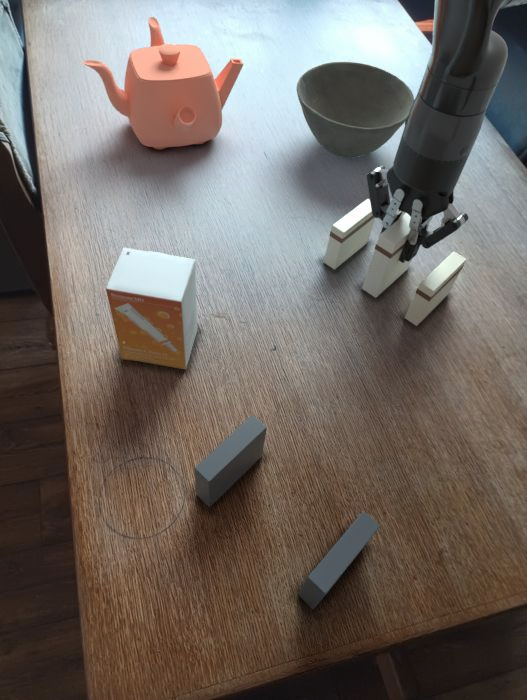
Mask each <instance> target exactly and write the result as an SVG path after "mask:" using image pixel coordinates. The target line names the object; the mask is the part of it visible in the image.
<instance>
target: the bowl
mask: <svg viewBox="0 0 527 700" xmlns="http://www.w3.org/2000/svg"><path fill="white" fill-rule="evenodd" d="M296 95H297V98H298V102H299V105H300V107H301V111H302V114H303V117H304V119H305V122H306V124H307V126H308V128H309V130H310V131H311V133H312V135H313V136H314V138H315V140H316V142H318V143H319V145H321V146H322V147H323V148H324V149H325V150H327V152H329V153H331V154H332V155H335V156H338V157H341V158H344V159H345V158H346V159H355V158H359V157H363V156H367V155H369V154H371V153H373V152H375V151H377V150H379V149H380V148H381V147H383V146H384V145H385V144H386V143H388V141H390V139H391V138H392V137H393V136H394V135H395V134H396V132H398V130H400V128H401V127H402V126H403V125H405V121H406V119H407V117H408V115H409V112H410V109H411V106H412V104H413V102H414V100H415V96H414V94H413V91H412V90H411V88H410V86H408V85H407V84H406V83H405V82H404V81H403V80H401V79H400V78H399V77H398V76H397V75H394V74H393V73H391V72H389V71H387V70H384V69H383V68H380V67H377V66H373V65H370V64H365V63H362V62H360V63H359V62H353V61H332V62H331V61H330V62H325V63H323V64H319V65H317V66H313V67H312V68H310V69H308V70H307V71H306V72H304V73H303V74H302V75H301V76H300V77H299V79H298V81H297V83H296Z"/></svg>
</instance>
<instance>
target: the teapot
mask: <svg viewBox="0 0 527 700" xmlns="http://www.w3.org/2000/svg"><path fill="white" fill-rule="evenodd" d="M147 22H148V28H149V35H150V46H146V47H141V48H137V49H133V50H131V51H130V53H129V55H128V58H127V64H126V70H125V75H124V85H123V86H124V88H123V89H122V88H120V87H119V86H118V85H117V83H116V80H115V77H114V75H113V72H112V71H111V69H110V67H109V66H107V64H105V63H103V62H102V61H98V60H90V59H89V60H88V59H87V60H83V61H82V64H83V65H84V66H86V67H89V68H90V69H92V70H94V71H95V72H96V73H97V74H98V75H99V77H100V79H101V81H102V83H103V85H104V88H105V92H106V94H107V97H108V100H109V102H110V103H111V105H112V107H113V108H114V109H115V111H117V112H118V113H119V114H120V115H122V116H124V117H127V120H128V121H129V124H130V126H131V129H132V130H133V132H134V135H135V136H136V138H137V139H138V141H139V143H140V144H142V145H143V146H146V147H149V148H154V149H155V150H165V149H166V148H176V147H184V146H190V145H202V144H205V143H206V142H207V141H212V140H214V139H215V138H216V137H217V136H218V134H219V132H220V131H221V128H222V126H223V109H224V107H225V105H226V103H227V100H228V98H229V96H230V94H231V92H232V91H233V88H234V86H235V84H236V81H237V79H238V77H239V75H240V73H241V71H242V69H243V66H244V62H243V60H242V59H241V58H230V59H229V61H228V62H227V64H226V65H225V66H224V67H223V68H222V69H221V71H220V72H219V74H218V75H217V76H216V77H214V74H213V71H212V68H211V66H210V63H209V61H208V59H207V57H206V55H205V54H204V52H203V50H202V49H201V48H200V47H199V46H198V45H194V44H185V43H184V44H183V43H182V44H179V43H178V44H175V43H166V42H165V40H164V36H163V33H162V28H161V25H160V23H159V21H158V20H157V18H155V17H153V16H150V17H148V21H147Z"/></svg>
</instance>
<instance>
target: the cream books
mask: <svg viewBox="0 0 527 700" xmlns="http://www.w3.org/2000/svg"><path fill="white" fill-rule="evenodd" d="M375 220H376V218H375V217H374V216H373V214H372V209H371V203H370V198H366V199H365V200H364V201H362V202H361V203H360V204H359V205H357V206H355V207H354V208H353V209H352V210H350V211H348V213H346V214H345V215H344V216H342V217H341V218H340V219H339V220H336V222H335V223H333V224H332V225H331V229H330V232H329V238H328V242H327V246H326V251H325V254H324V259H323V263H324V264H325V265H327V266H328V267H330V268H331V269H332V270H336V269H337V268H338V267H340V266H341V265H342V264H343V263H345V262H346V261H347V260H348V259H350V258H351V257H352V256H353V255H354V254H356V253H357V252H358V251H360V250H361V249H362V248H363V247H364V246H365V245H367V244H368V243H369V239H370V236H371V233H372V231H373V230H372V229H373V227H374V224H375ZM466 262H467V258H465V257H464V256H462V255H460V254H459V253H457V252H456V251H452V252H451V253H450V254H449V255H448V256H447V257H446V258H445V259H444V260H442V261H441V262H440V263H439V264H438V265H437V266H436V267H435V268H434V269H433V270H432V271H431V272H430V273H429V274H428V275H427V276H426V277H425V278H424V279H422V280H421V281H420V282H419V284H418V286H417V288H416V290H415V294H414V296H413V298H412V300H411V302H410V304H409V307H408V309H407V311H406V314H405V315H404V317H403V318H404V319H406V320H407V321H408V322H410V323H411V324H412V325H414V326H416V327H418V326H419V325H420V324H421V323H422V322H423V321H424V320H425V318H427V317H428V315H430V314H431V313H432V311H433V310H435V309H436V307H438V305H439V304H441V302H442V301H443V300H444V299H445V298H446V297H447V296H448V295H449V293H450V291H451V289H452V288H453V286H454V284H455V282H456V280H457V279H458V277H459V275H460V273H461V271H462V270H463V268H464V266H465V264H466Z"/></svg>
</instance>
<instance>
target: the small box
mask: <svg viewBox="0 0 527 700" xmlns="http://www.w3.org/2000/svg"><path fill="white" fill-rule="evenodd" d="M119 254H120V255H119V257H118V260H117V261H116V264H115V266H114V267H113V268H114V269H113V271H112V273H111V275H110V278H109V280H108V282H107V285H106V287H105V291H106V295H107V301H108V304H109V309H110V315H111V319H112V321H113V327H114V330H115V331H114V332H115V334H116V340H117V343H118V348H119V352H120V357H121V359H122V360H127V361H134V362H141V363H146V364H147V363H148V364H152V365H157V366H164V367H169V368H175V369H178V370H179V369H180V370H187V368H188V364H189V361H190V357H191V355H192V350H193V348H194V347H193V346H194V343H195V340H196V336H197V332H198V305H197V302H198V301H197V278H196V259H194V258H189V257H183V256H177V255H172V254H168V253H164V252H159V251H152V250H151V251H149V250H142V249H137V248H130V247H122V248H121V252H120V253H119Z"/></svg>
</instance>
